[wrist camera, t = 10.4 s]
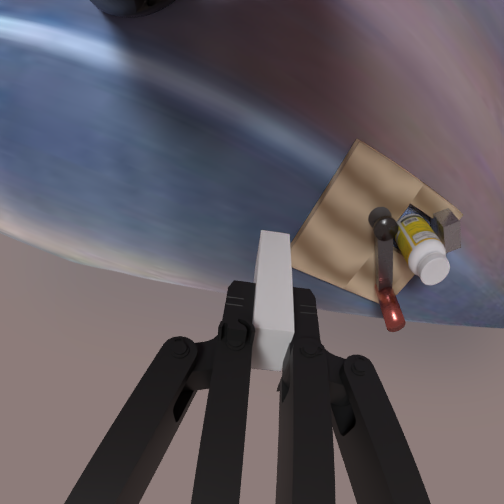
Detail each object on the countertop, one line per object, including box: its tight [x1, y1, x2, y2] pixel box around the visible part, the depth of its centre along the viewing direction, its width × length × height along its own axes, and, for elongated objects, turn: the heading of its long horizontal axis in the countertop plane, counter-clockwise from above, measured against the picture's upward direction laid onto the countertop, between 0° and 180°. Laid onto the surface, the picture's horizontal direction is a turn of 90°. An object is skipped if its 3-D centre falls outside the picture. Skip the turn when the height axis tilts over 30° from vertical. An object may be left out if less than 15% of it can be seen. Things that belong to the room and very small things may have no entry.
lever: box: [373, 216, 405, 332], centre depth 41 cm, size 16×4×9 cm, turn 16°
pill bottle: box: [394, 214, 450, 285], centre depth 40 cm, size 6×6×11 cm
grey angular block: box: [430, 208, 461, 253], centre depth 41 cm, size 5×3×6 cm, turn 25°
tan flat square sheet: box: [290, 139, 463, 303], centre depth 45 cm, size 22×22×2 cm
